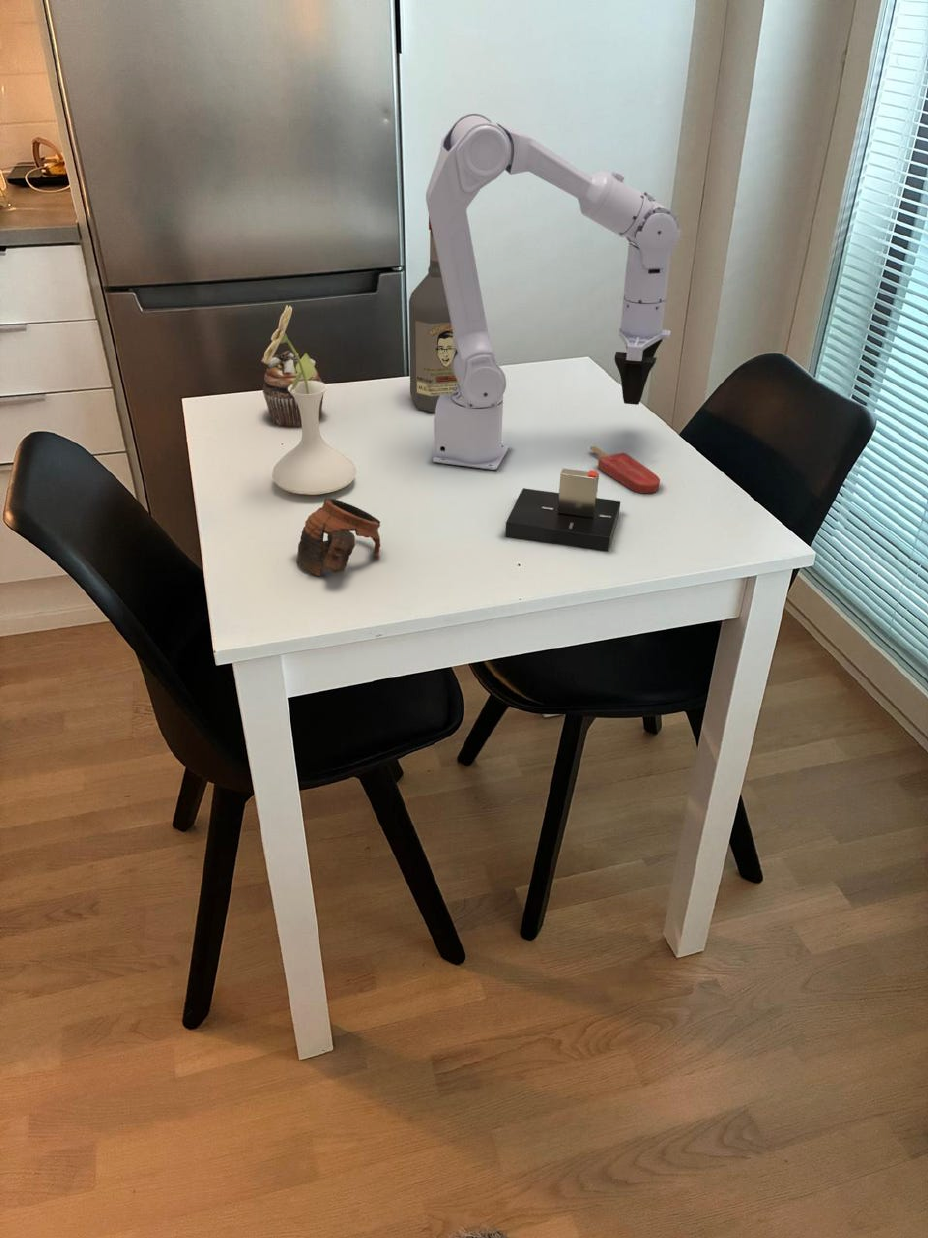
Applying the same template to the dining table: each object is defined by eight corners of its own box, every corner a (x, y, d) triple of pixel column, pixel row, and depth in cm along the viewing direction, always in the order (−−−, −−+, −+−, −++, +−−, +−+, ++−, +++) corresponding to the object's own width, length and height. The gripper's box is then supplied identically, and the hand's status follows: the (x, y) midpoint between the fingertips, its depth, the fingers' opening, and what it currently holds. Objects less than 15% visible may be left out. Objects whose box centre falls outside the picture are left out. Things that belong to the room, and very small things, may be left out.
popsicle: (604, 438, 140) (667, 479, 130) (602, 449, 141) (665, 491, 131) (578, 443, 139) (641, 486, 128) (577, 454, 140) (639, 497, 129)
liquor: (407, 394, 159) (404, 201, 142) (460, 390, 161) (463, 200, 144) (418, 414, 152) (416, 214, 135) (474, 410, 154) (478, 212, 137)
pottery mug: (288, 549, 117) (314, 487, 115) (359, 576, 120) (385, 516, 118) (292, 576, 105) (321, 508, 104) (371, 605, 108) (399, 540, 107)
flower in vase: (297, 461, 137) (281, 282, 123) (370, 473, 133) (362, 292, 119) (251, 499, 126) (227, 310, 112) (328, 514, 123) (314, 321, 109)
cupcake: (252, 420, 149) (244, 357, 143) (292, 401, 156) (287, 340, 150) (299, 434, 145) (294, 370, 139) (339, 413, 151) (335, 352, 146)
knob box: (505, 536, 119) (505, 521, 118) (522, 501, 127) (522, 486, 126) (608, 551, 116) (610, 535, 115) (618, 514, 124) (620, 499, 123)
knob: (557, 513, 120) (560, 471, 117) (559, 507, 121) (562, 466, 118) (593, 518, 119) (597, 476, 116) (595, 512, 121) (599, 470, 117)
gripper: (669, 315, 123) (657, 414, 130) (678, 285, 134) (667, 378, 142) (614, 311, 124) (606, 410, 132) (628, 282, 136) (620, 374, 143)
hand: (634, 393), depth 137 cm, fingers open, 7 cm apart
